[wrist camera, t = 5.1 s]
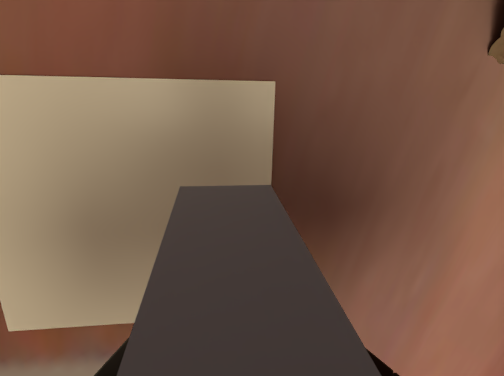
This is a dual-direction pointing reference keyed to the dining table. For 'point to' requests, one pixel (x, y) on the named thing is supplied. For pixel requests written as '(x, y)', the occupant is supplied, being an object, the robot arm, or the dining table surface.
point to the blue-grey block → (239, 296)
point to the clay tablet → (498, 49)
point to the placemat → (111, 183)
